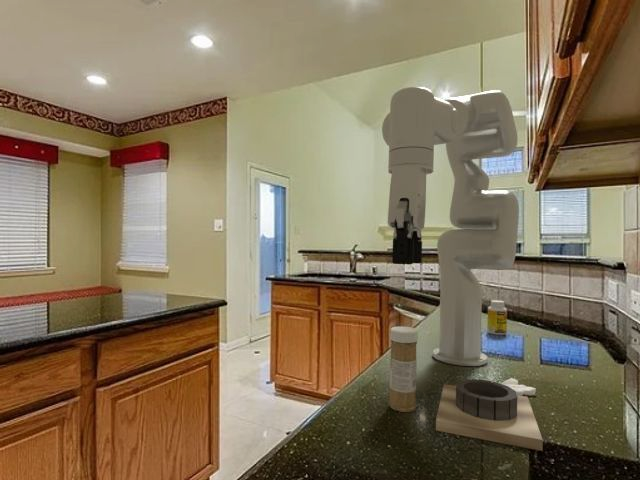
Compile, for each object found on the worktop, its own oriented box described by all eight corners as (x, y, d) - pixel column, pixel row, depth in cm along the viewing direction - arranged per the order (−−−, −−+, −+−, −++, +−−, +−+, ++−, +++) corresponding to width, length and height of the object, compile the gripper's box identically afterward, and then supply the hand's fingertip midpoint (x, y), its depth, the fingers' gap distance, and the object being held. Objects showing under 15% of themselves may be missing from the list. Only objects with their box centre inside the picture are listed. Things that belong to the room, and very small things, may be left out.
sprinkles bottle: (398, 399, 69) (399, 324, 69) (421, 407, 66) (422, 328, 66) (383, 407, 65) (385, 328, 65) (407, 416, 62) (408, 333, 62)
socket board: (443, 392, 73) (444, 368, 73) (527, 405, 67) (527, 379, 67) (435, 430, 58) (436, 400, 58) (542, 451, 52) (543, 417, 53)
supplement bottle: (496, 336, 118) (497, 302, 118) (483, 331, 124) (483, 300, 124) (510, 334, 120) (511, 302, 120) (497, 330, 125) (497, 299, 126)
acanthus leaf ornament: (513, 385, 79) (513, 375, 79) (541, 398, 72) (541, 388, 72) (482, 387, 77) (482, 378, 77) (507, 401, 70) (508, 391, 70)
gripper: (398, 174, 75) (395, 261, 75) (376, 152, 59) (373, 263, 59) (438, 172, 73) (435, 263, 72) (427, 149, 57) (423, 265, 56)
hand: (407, 263), depth 66 cm, fingers open, 9 cm apart
